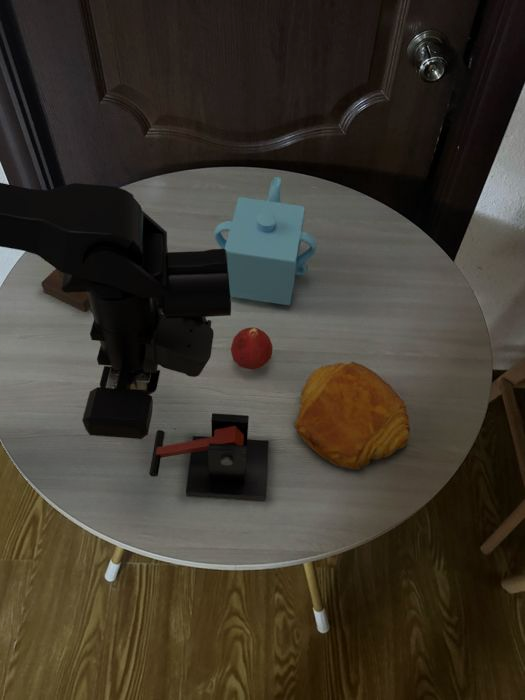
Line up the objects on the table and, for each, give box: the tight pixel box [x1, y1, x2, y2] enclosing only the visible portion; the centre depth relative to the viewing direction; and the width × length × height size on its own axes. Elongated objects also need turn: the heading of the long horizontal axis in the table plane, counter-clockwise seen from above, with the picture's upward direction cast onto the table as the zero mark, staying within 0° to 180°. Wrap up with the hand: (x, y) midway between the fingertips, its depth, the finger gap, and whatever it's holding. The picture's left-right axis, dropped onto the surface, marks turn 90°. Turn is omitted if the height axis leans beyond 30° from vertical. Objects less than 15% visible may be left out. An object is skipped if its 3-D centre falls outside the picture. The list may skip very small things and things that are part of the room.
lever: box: [148, 426, 244, 478], centre depth 75 cm, size 12×6×2 cm, turn 88°
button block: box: [40, 268, 91, 313], centre depth 96 cm, size 10×8×4 cm
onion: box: [230, 327, 273, 371], centre depth 87 cm, size 6×6×8 cm
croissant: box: [293, 361, 411, 471], centre depth 82 cm, size 14×16×8 cm
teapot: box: [213, 176, 317, 306], centre depth 97 cm, size 18×16×13 cm
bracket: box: [185, 412, 270, 502], centre depth 76 cm, size 10×8×10 cm
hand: (140, 397), depth 72 cm, fingers closed
